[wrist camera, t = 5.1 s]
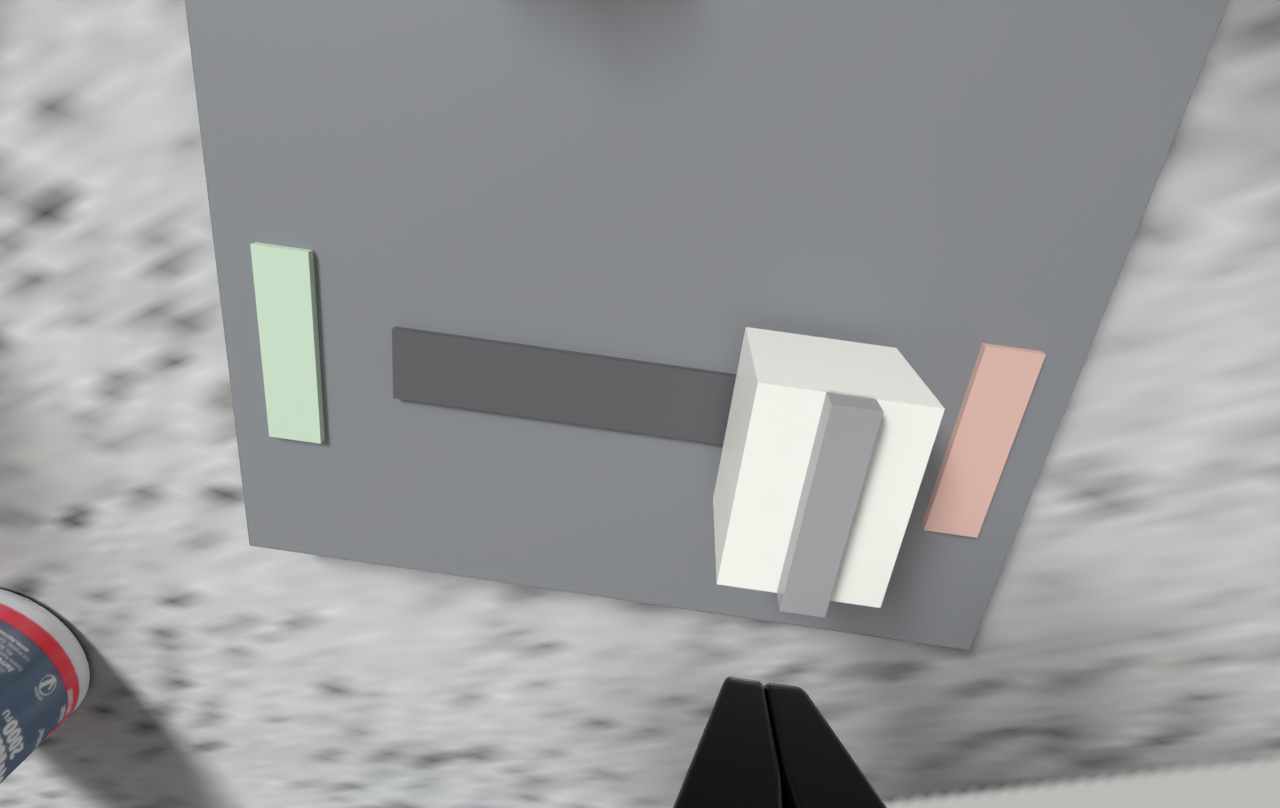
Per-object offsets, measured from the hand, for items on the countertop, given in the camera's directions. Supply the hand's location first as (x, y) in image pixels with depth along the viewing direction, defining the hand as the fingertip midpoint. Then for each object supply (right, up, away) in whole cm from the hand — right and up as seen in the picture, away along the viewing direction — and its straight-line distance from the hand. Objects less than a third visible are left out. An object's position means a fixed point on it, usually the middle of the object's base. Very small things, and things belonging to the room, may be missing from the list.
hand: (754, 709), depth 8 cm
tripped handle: (+2, +3, +7) cm, 8 cm away
